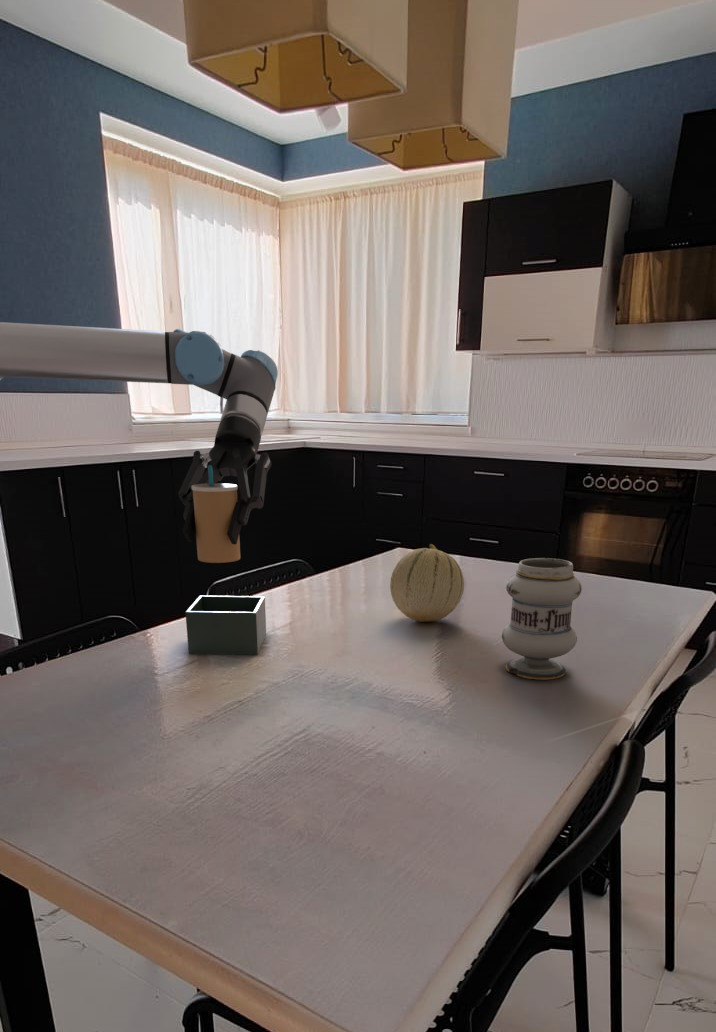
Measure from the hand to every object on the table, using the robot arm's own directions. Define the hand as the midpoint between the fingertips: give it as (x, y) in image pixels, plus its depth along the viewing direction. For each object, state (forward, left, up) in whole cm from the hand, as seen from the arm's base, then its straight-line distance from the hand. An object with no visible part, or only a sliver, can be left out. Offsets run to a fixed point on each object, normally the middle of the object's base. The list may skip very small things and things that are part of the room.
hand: (209, 538), depth 127 cm
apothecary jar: (+24, +49, -20) cm, 59 cm away
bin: (-6, +3, -20) cm, 21 cm away
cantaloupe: (-11, +44, -20) cm, 50 cm away
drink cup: (-3, +2, -4) cm, 5 cm away
